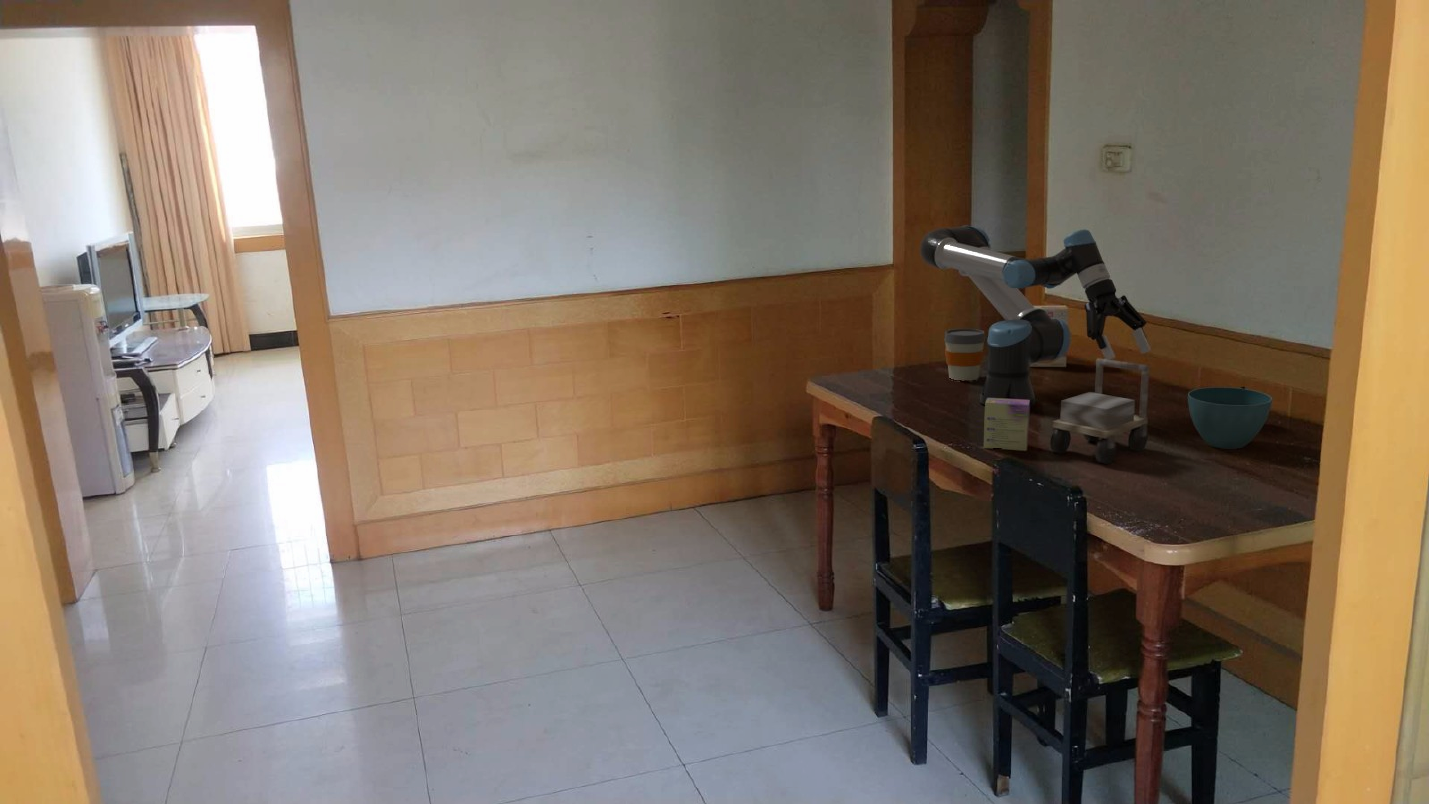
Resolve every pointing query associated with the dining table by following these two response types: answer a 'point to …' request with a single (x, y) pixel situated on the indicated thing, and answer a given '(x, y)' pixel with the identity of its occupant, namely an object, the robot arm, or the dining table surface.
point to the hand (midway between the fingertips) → (1128, 355)
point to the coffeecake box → (1053, 312)
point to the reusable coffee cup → (964, 353)
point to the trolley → (1103, 416)
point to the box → (1006, 423)
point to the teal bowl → (1228, 415)
